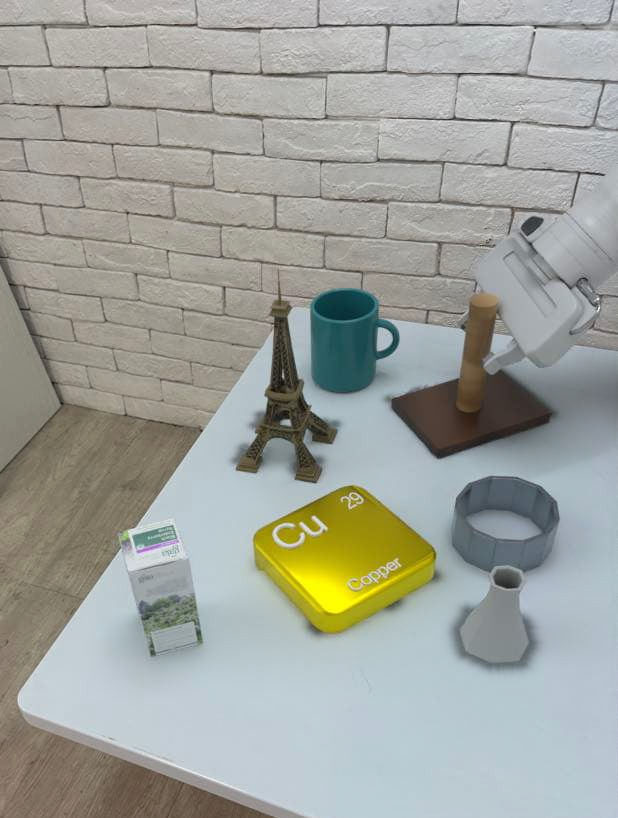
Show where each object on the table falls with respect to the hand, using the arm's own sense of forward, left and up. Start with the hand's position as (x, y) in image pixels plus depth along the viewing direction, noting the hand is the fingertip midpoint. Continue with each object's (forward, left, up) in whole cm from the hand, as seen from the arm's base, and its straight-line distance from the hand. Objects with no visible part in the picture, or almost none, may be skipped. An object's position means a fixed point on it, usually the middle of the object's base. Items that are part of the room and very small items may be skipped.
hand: (473, 347), depth 98 cm
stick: (-1, 0, -9) cm, 9 cm away
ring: (+9, +22, -10) cm, 26 cm away
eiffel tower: (+23, -4, -10) cm, 26 cm away
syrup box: (+46, +19, -10) cm, 51 cm away
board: (-1, 0, -10) cm, 10 cm away
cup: (+8, -15, -10) cm, 20 cm away
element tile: (+26, +18, -10) cm, 34 cm away
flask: (+17, +33, -10) cm, 39 cm away
